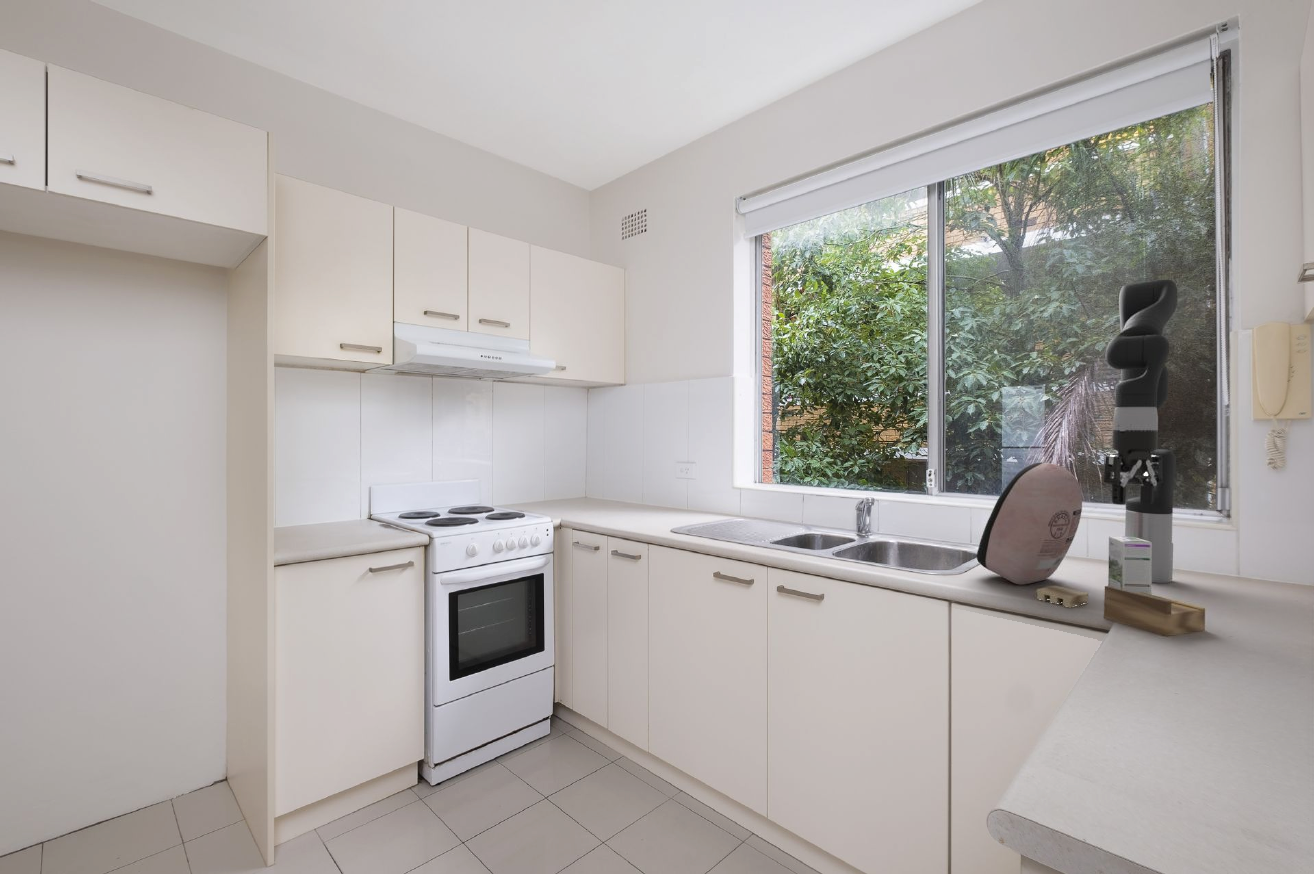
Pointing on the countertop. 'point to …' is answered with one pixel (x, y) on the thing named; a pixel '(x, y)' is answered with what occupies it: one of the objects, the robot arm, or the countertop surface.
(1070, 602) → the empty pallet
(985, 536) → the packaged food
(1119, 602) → the dock
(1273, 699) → the countertop surface
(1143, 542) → the syrup box
